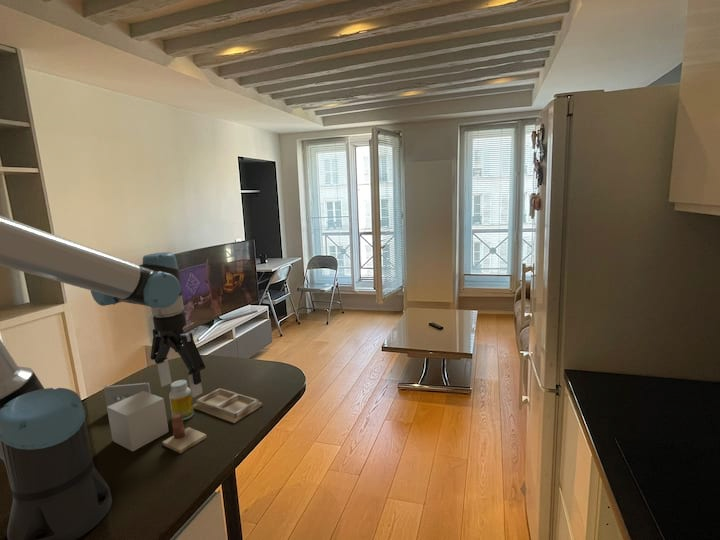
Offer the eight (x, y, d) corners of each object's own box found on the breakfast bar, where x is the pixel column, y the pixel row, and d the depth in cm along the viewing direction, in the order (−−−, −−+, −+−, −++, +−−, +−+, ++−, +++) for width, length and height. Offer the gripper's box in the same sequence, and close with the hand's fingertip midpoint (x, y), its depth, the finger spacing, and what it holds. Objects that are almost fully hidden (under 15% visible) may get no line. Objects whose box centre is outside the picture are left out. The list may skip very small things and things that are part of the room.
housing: (132, 451, 92) (126, 415, 91) (112, 441, 97) (106, 406, 95) (168, 431, 100) (163, 398, 98) (148, 422, 104) (143, 390, 103)
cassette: (154, 406, 113) (150, 381, 112) (151, 410, 111) (147, 384, 110) (110, 410, 112) (105, 385, 111) (106, 414, 110) (102, 388, 109)
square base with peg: (180, 453, 90) (177, 430, 89) (162, 445, 94) (159, 422, 93) (206, 437, 96) (203, 415, 95) (189, 430, 100) (186, 408, 99)
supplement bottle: (170, 416, 107) (165, 382, 106) (190, 408, 111) (186, 376, 109) (175, 424, 103) (170, 389, 101) (196, 416, 106) (192, 382, 105)
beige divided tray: (234, 423, 102) (233, 416, 101) (193, 408, 111) (192, 401, 111) (262, 405, 110) (262, 398, 110) (222, 392, 119) (221, 386, 119)
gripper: (212, 313, 98) (223, 392, 102) (155, 304, 112) (166, 375, 116) (185, 323, 92) (198, 406, 96) (128, 312, 105) (141, 386, 109)
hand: (181, 389), depth 106 cm, fingers open, 13 cm apart
